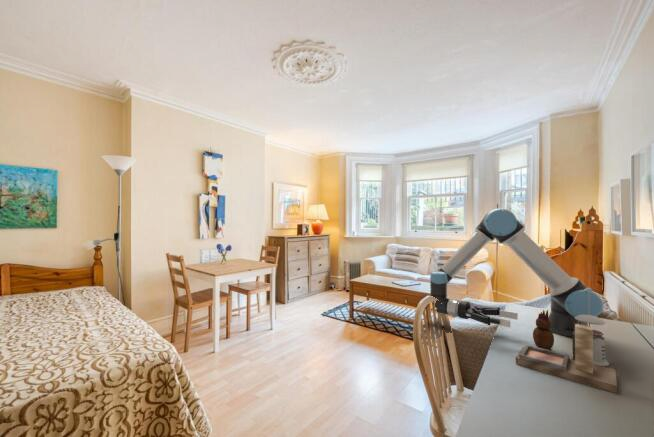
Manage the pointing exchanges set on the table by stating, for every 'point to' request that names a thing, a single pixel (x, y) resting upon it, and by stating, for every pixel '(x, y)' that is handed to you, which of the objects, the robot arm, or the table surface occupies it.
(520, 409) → the table surface
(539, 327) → the wooden figurine
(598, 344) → the french press
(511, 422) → the table surface
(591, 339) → the wooden tray stand
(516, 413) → the table surface
